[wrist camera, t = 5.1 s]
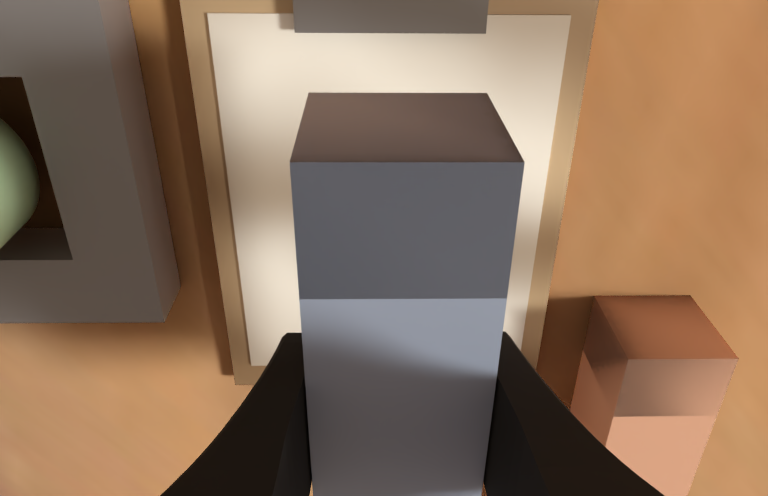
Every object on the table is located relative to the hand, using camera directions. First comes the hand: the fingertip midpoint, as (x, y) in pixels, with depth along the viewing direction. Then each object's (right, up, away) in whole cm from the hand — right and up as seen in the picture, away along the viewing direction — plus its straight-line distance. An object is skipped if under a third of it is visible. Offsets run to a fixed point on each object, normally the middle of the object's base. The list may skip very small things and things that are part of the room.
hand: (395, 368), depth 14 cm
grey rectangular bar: (0, +1, +1) cm, 2 cm away
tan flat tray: (0, +4, +7) cm, 8 cm away
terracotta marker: (+9, -4, +11) cm, 15 cm away
